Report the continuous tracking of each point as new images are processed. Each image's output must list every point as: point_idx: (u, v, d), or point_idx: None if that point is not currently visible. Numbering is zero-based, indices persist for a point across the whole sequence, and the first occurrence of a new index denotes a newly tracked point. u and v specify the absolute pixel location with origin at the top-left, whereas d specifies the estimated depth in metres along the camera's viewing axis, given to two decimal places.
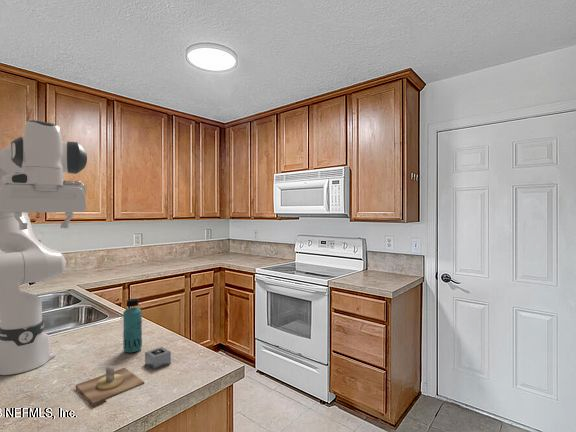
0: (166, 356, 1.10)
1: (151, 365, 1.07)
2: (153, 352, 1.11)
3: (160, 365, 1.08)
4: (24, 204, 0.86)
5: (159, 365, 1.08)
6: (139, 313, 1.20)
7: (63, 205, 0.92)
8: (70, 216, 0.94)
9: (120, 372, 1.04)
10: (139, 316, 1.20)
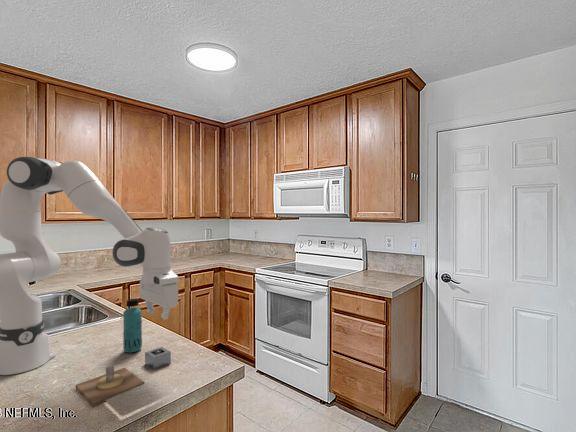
0: (166, 356, 1.10)
1: (151, 365, 1.07)
2: (153, 352, 1.11)
3: (160, 365, 1.08)
4: None
5: (159, 365, 1.08)
6: (139, 313, 1.20)
7: None
8: None
9: (120, 372, 1.04)
10: (139, 316, 1.20)
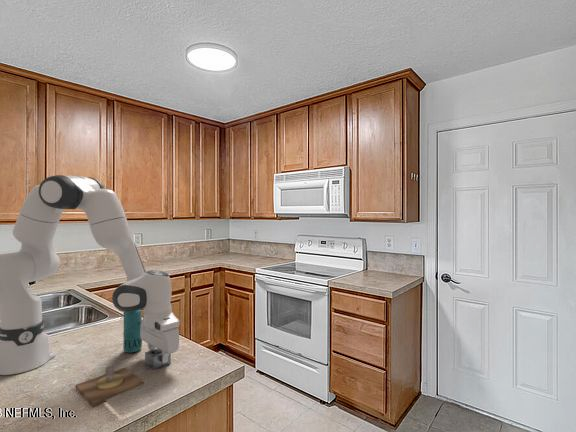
0: None
1: (151, 365, 1.07)
2: (153, 352, 1.11)
3: (160, 365, 1.08)
4: None
5: (159, 365, 1.08)
6: (139, 313, 1.20)
7: None
8: None
9: (120, 372, 1.04)
10: (139, 316, 1.20)
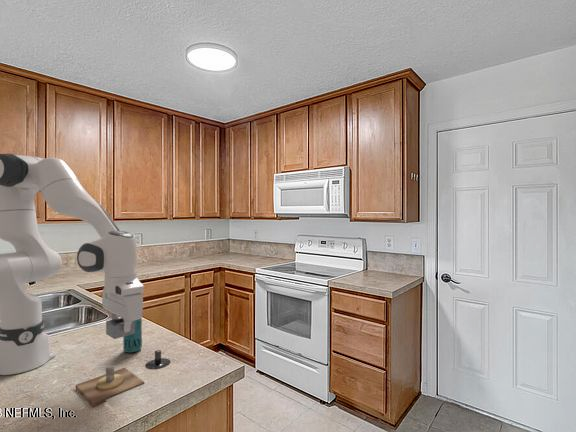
0: None
1: (112, 334, 0.97)
2: (115, 321, 1.01)
3: (122, 335, 0.98)
4: None
5: (121, 335, 0.97)
6: None
7: None
8: None
9: (120, 372, 1.04)
10: None
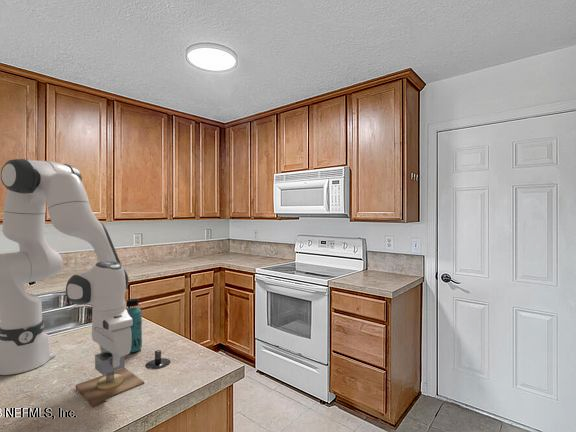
0: None
1: (100, 370, 0.94)
2: (105, 355, 0.97)
3: (111, 370, 0.94)
4: None
5: (110, 370, 0.94)
6: (139, 313, 1.20)
7: None
8: None
9: (120, 372, 1.04)
10: (139, 316, 1.20)
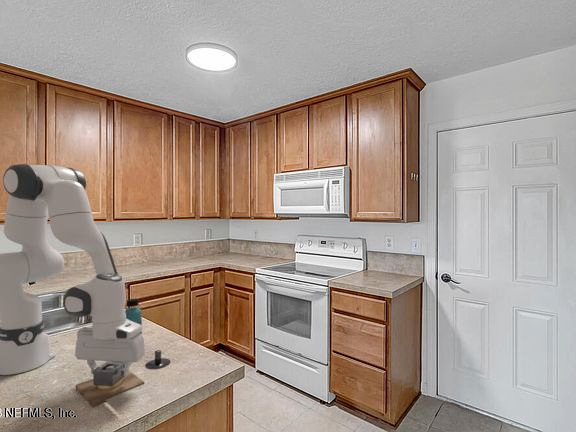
0: None
1: (107, 382, 0.94)
2: (102, 369, 0.96)
3: (117, 380, 0.96)
4: None
5: (116, 380, 0.96)
6: (139, 313, 1.20)
7: None
8: None
9: None
10: (139, 316, 1.20)
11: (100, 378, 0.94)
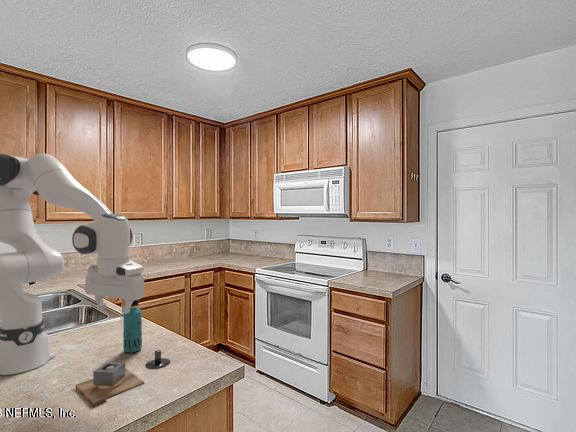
0: (122, 369, 0.98)
1: (107, 382, 0.94)
2: (102, 369, 0.96)
3: (117, 380, 0.96)
4: None
5: (116, 380, 0.96)
6: (139, 313, 1.20)
7: None
8: None
9: None
10: (139, 316, 1.20)
11: (100, 378, 0.94)
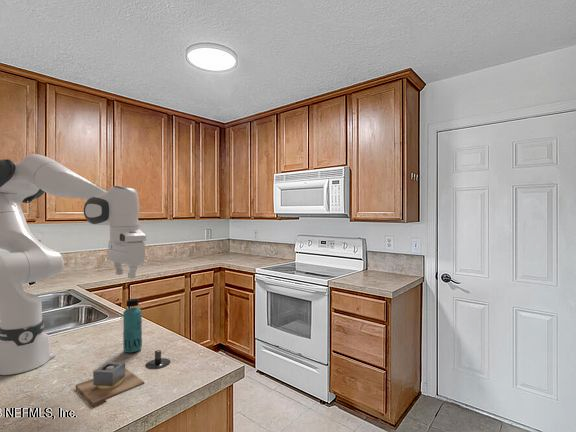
0: (122, 369, 0.98)
1: (107, 382, 0.94)
2: (102, 369, 0.96)
3: (117, 380, 0.96)
4: None
5: (116, 380, 0.96)
6: (139, 313, 1.20)
7: None
8: None
9: None
10: (139, 316, 1.20)
11: (100, 378, 0.94)
